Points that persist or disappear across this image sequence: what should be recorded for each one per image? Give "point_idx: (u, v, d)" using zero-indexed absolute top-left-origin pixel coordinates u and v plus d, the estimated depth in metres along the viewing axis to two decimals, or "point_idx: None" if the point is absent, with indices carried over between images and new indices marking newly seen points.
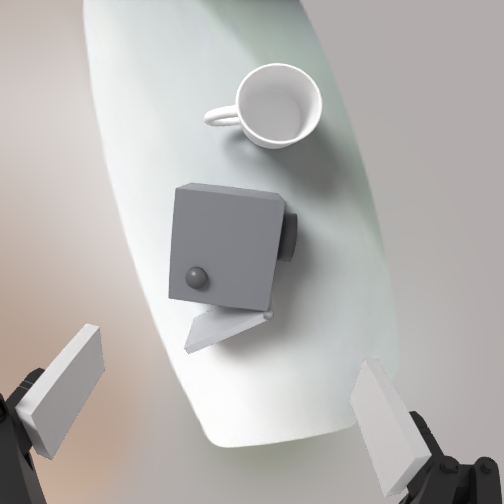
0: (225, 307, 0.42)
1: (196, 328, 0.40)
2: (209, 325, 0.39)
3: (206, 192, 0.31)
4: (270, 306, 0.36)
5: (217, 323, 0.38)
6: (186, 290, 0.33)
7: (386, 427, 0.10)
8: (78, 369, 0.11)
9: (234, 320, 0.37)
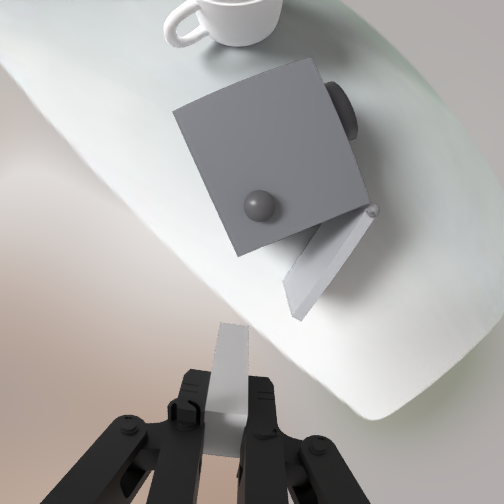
0: (312, 244, 0.31)
1: (292, 287, 0.30)
2: (306, 272, 0.29)
3: (212, 94, 0.20)
4: None
5: (316, 263, 0.28)
6: (256, 232, 0.23)
7: None
8: None
9: (334, 244, 0.26)
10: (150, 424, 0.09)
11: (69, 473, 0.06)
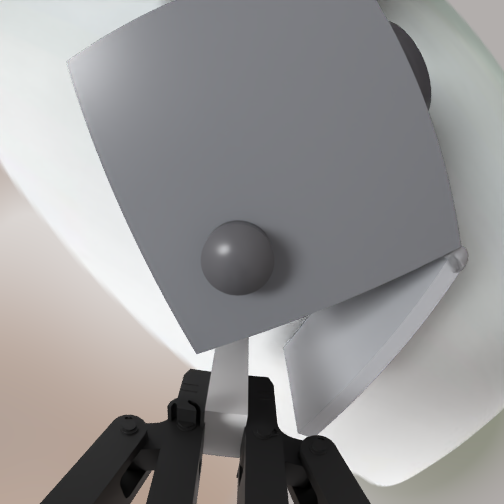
0: None
1: (300, 371, 0.17)
2: (325, 352, 0.16)
3: (142, 17, 0.08)
4: None
5: (343, 341, 0.15)
6: (232, 310, 0.11)
7: None
8: None
9: (382, 315, 0.13)
10: (150, 424, 0.09)
11: (69, 473, 0.06)
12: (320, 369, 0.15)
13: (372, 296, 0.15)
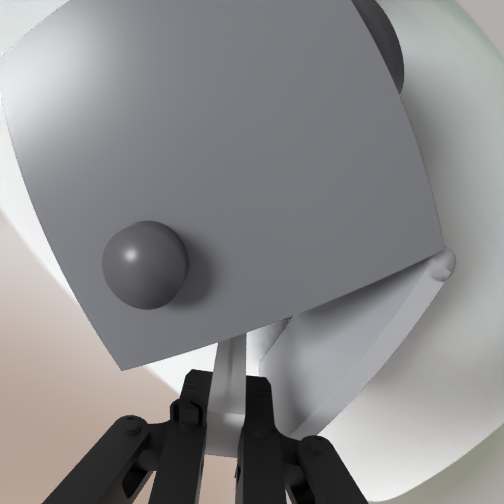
0: (308, 310, 0.17)
1: None
2: (293, 373, 0.14)
3: (60, 9, 0.06)
4: None
5: (311, 362, 0.13)
6: (150, 325, 0.09)
7: None
8: None
9: (351, 334, 0.11)
10: (152, 424, 0.09)
11: (71, 473, 0.06)
12: (287, 392, 0.13)
13: (344, 310, 0.13)
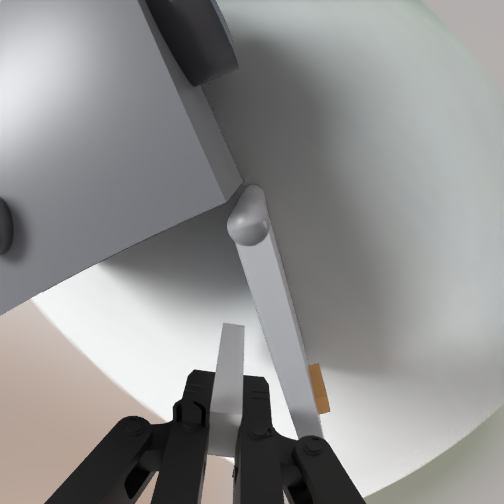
0: None
1: None
2: None
3: None
4: (238, 203, 0.10)
5: None
6: (1, 278, 0.09)
7: None
8: None
9: None
10: (155, 425, 0.09)
11: (73, 474, 0.06)
12: None
13: None
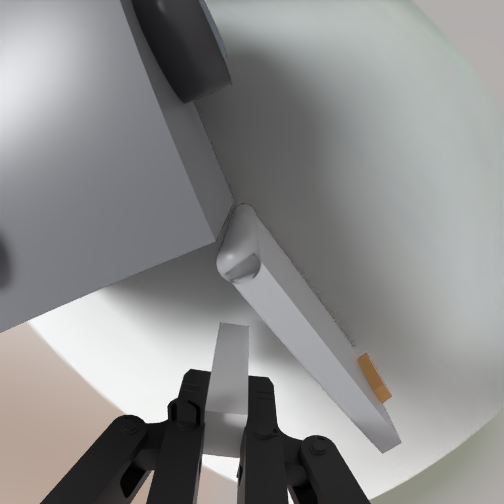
0: None
1: None
2: None
3: None
4: (223, 240, 0.10)
5: None
6: None
7: None
8: None
9: None
10: (150, 424, 0.09)
11: (69, 473, 0.06)
12: None
13: None
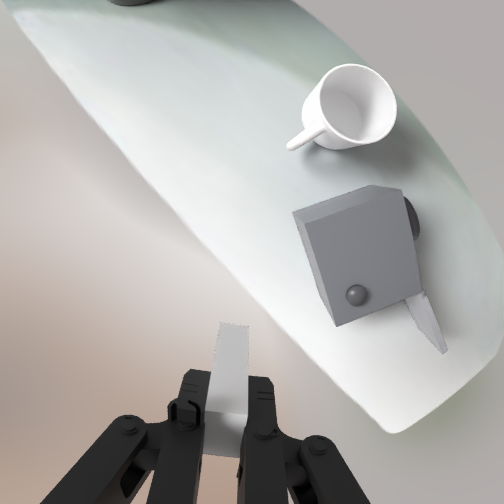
0: (411, 308, 0.41)
1: (427, 336, 0.39)
2: (425, 328, 0.38)
3: (334, 214, 0.30)
4: None
5: (425, 324, 0.37)
6: (350, 311, 0.32)
7: None
8: None
9: (423, 315, 0.35)
10: (150, 424, 0.09)
11: (69, 473, 0.06)
12: (429, 334, 0.37)
13: (417, 309, 0.37)
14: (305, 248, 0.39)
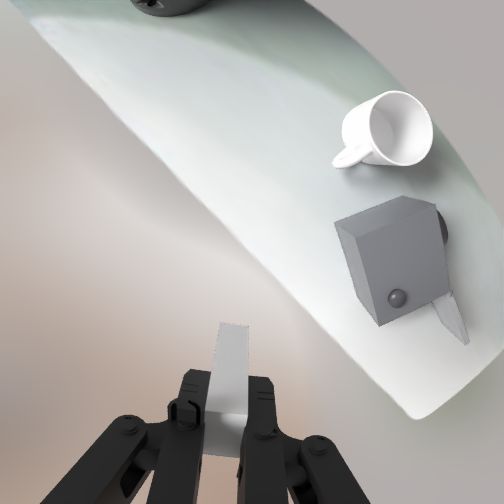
0: (436, 305, 0.43)
1: (451, 329, 0.42)
2: (449, 323, 0.41)
3: (380, 228, 0.32)
4: None
5: (449, 319, 0.40)
6: (391, 312, 0.35)
7: None
8: None
9: (449, 312, 0.38)
10: (150, 424, 0.09)
11: (69, 473, 0.06)
12: (453, 327, 0.40)
13: (443, 306, 0.40)
14: (346, 255, 0.41)
